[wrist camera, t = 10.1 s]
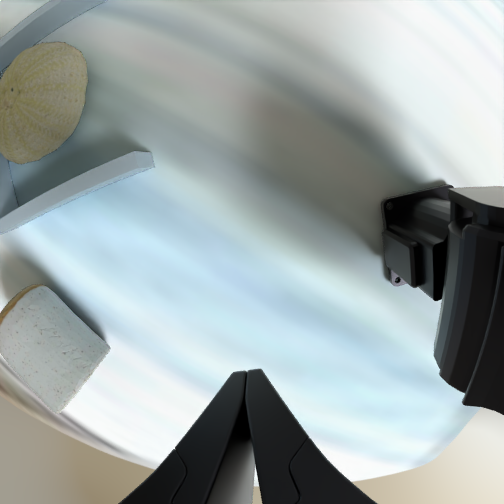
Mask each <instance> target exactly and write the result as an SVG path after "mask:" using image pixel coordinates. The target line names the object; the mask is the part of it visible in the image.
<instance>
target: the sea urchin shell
mask: <svg viewBox="0 0 504 504" xmlns="http://www.w3.org/2000/svg"><path fill="white" fill-rule="evenodd" d="M87 76H88V75H87V63H86V60H85V58H84V57H83V54H82V53H81V51H79V50H77V49H76V48H74V47H72V46H70V45H68V44H66V43H65V42H64V43H62V42H53V43H47V42H46V43H43V42H42V43H41V44H37V45H35V46H33V47H30V48H28V49H25V50H24V51H22V52H20V54H19V55H18V56H17V57H16V58H15V59H14V60H13V61H12V63H11V64H10V66H8V68H7V70H6V71H5V72H4V73H3V76H2V78H1V80H0V152H1V154H2V155H3V156H4V157H5V158H6V159H7V160H9V161H12V162H15V163H17V164H25V163H28V162H32V161H36V160H40V159H41V158H42V157H44V156H45V155H47V154H49V153H51V152H53V151H54V150H57V148H59V147H60V146H61V145H62V144H63V143H64V142H65V141H66V140H67V139H68V138H69V137H70V136H71V135H72V134H73V131H74V130H75V128H76V126H77V125H78V123H79V120H80V117H81V113H82V110H83V108H84V104H85V92H86V87H87V83H88V79H87Z"/></svg>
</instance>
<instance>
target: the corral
mask: <svg viewBox="0 0 504 504" xmlns="http://www.w3.org/2000/svg"><path fill="white" fill-rule="evenodd" d="M105 1H107V0H50V1H49V2H48V3H46V4H45V5H43V6H42V7H40V8H39V9H38V10H36V11H35V12H33V13H32V14H31V15H29V16H28V17H27V18H25V19H24V20H23V21H22V22H20V23H19V24H18V25H17V26H15V27H14V28H13V29H12V30H11V31H9V32H8V33H7V34H6V35H5V36H4V37H3V38H1V39H0V72H1V71H2V70H3V69H4V68H5V67H7V66H8V65H9V64H10V63H11V62H12V61H13V60H14V59H15V58H16V57H17V56H18V55H19V54H20V52H22V51H24V50H25V49H28V48H30V47H32V46H33V45H34V44H36V43H37V42H38V41H40V40H41V39H43V38H44V37H46V36H47V35H48V34H50V33H51V32H53V31H54V30H56V29H58V28H59V27H61V26H62V25H64V24H65V23H67V22H69V21H70V20H72V19H74V18H75V17H77V16H79V15H81V14H82V13H84V12H86V11H88V10H89V9H91V8H93V7H95V6H97V5H99V4H101V3H103V2H105ZM153 167H155V165H154V161H153V157H152V154H151V152H139V151H133V152H131V153H128V154H126V155H123V156H121V157H118V158H116V159H114V160H111V161H109V162H107V163H104V164H102V165H100V166H98V167H96V168H93V169H91V170H89V171H87V172H85V173H83V174H81V175H78V176H76V177H74V178H72V179H70V180H68V181H66V182H64V183H62V184H60V185H58V186H56V187H55V188H53V189H51V190H49V191H47V192H45V193H43V194H42V195H40V196H38V197H36V198H34V199H33V200H31V201H29V202H27V203H26V204H24V205H22V206H21V207H18V203H17V200H16V196H15V191H14V187H13V183H12V178H11V173H10V168H9V163H8V160H7V159H6V158H5V157H4V156H3V155H2V154H1V152H0V235H1V234H3V233H6V232H8V231H11V230H14V229H16V228H18V227H20V226H22V225H24V224H26V223H28V222H29V221H31V220H33V219H35V218H37V217H39V216H41V215H43V214H45V213H47V212H49V211H51V210H53V209H55V208H57V207H59V206H61V205H64V204H66V203H68V202H70V201H72V200H74V199H77V198H79V197H81V196H83V195H85V194H88V193H90V192H92V191H95V190H97V189H99V188H102V187H104V186H107V185H109V184H111V183H114V182H116V181H119V180H121V179H124V178H126V177H129V176H132V175H134V174H137V173H140V172H142V171H145V170H148V169H151V168H153Z"/></svg>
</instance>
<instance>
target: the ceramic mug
mask: <svg viewBox="0 0 504 504" xmlns="http://www.w3.org/2000/svg"><path fill="white" fill-rule="evenodd" d="M109 351H110V346H109V345H108V344H107V343H106V342H105V341H103V340H102V339H101V338H100V337H99V336H98V335H97V334H96V333H94V332H93V331H92V330H91V329H90V328H89V327H88V326H87V325H86V324H85V323H84V322H83V321H82V320H81V319H80V318H79V317H77V316H76V315H75V314H74V313H73V312H72V311H71V310H70V309H69V307H68V306H67V305H66V304H65V303H64V302H63V301H62V300H61V299H60V298H59V297H58V296H57V295H56V294H55V293H54V292H53V291H52V290H50V289H49V288H48V287H46V286H44V285H42V284H34V285H31V286H28V287H27V288H25V289H23V290H22V291H21V292H19V293H18V294H17V295H16V296H15V297H14V298H12V299H11V300H10V301H9V303H8V304H7V305H6V306H5V307H4V309H3V310H2V311H1V313H0V353H1V355H2V356H3V357H4V359H5V360H6V361H7V363H8V364H9V365H10V366H11V367H12V368H13V370H14V371H15V372H16V373H17V374H18V375H19V376H20V378H21V379H22V380H23V381H24V382H25V383H26V384H27V386H28V387H29V388H30V389H31V390H32V391H33V392H34V393H35V394H36V395H37V396H38V397H39V398H40V399H41V400H42V401H43V402H44V403H45V404H46V405H47V406H48V407H49V408H50V409H51V410H52V411H53V412H54V413H56V414H59V413H60V412H61V411H62V410H63V409H64V408H65V407H66V405H67V404H68V403H69V402H70V401H71V400H72V399H73V398H74V397H75V395H76V394H77V393H78V392H79V390H80V389H81V387H82V386H83V385H84V384H85V382H86V381H87V380H88V379H89V377H90V376H91V375H92V373H93V372H94V371H95V369H96V368H97V367H98V366H99V364H100V363H101V362H102V361H103V359H104V358H105V357H106V355H107V354H108V352H109Z"/></svg>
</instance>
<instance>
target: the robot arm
mask: <svg viewBox="0 0 504 504" xmlns="http://www.w3.org/2000/svg"><path fill="white" fill-rule="evenodd" d="M389 202H390V204H391V205H390V208H389V209H387V204H388V203H389ZM381 209H382V216H383V223H384V230H383V232H382V236H383V244H384V253H385V262H386V266H387V267H389V276H390V282H391V283H392V284H393V285H394V286H401V285H404V284H406V283H408V284H409V285H410V286H411V287H413V288H417V287H419V288H420V289H421V290H422V291H424V292H425V293H426V294H427V295H428V296H429V297H431V298H432V299H433V300H434V301H438V300H441V299H442V303H441V309H440V316H439V321H438V327H437V332H436V337H435V342H434V357H435V360H436V362H437V364H438V367H439V368H440V373H439V375H440V376H441V377H442V378H443V379H444V380H445V381H446V382H447V383H448V384H449V385H450V386H452V387H454V388H455V389H457V390H459V391H460V392H463V393H465V396H464V398H463V401H462V404H463V405H465V406H476V407H484V408H487V409H490V410H494V411H496V412H498V413H501V414H502V415H504V187H502V186H491V187H464V188H454V187H453V186H452V185H447V184H446V185H442V186H437V187H433V188H428V189H424V190H419V191H415V192H411V193H406V194H402V195H398V196H393V197H389V198H386V199H384V200H383V201H382V203H381ZM397 277H398V280H397V281H395V279H396V278H397ZM175 449H176V450H175ZM175 449H173V450H172V452H171V453H170V454H169V455H168V456H167V458H166V459H165V460H164V461H163V462H162V463H161V464H160V466H159V467H158V468H157V469H156V470H155V471H154V472H153V473H152V474H151V475H150V476H149V477H148V478H147V479H146V480H145V481H144V482H143V483H141V484H140V485H139V486H138V487H137V488H136V489H135V490H134V491H132V492H131V493H130V494H129V495H128V496H127V497H126V498H124V499H123V500H122V501H121V502H120V503H118V504H252V499H253V485H254V471H255V465H256V471H257V476H258V482H259V487H260V492H261V498H262V503H263V504H377V503H376V502H375V501H373V500H372V499H370V498H369V497H368V496H367V495H366V494H365V493H363V492H362V491H361V490H360V489H359V488H357V487H356V486H355V485H354V484H353V483H352V482H351V481H349V480H348V479H347V478H346V477H345V476H344V475H343V474H342V473H340V472H339V471H338V470H337V469H336V468H335V467H334V466H333V465H332V464H331V463H330V462H329V461H328V460H327V458H326V457H325V456H324V455H323V454H322V452H321V451H320V450H319V449H318V448H317V446H316V445H315V444H314V442H313V441H312V440H311V439H310V438H309V436H308V435H307V433H306V432H305V430H304V429H303V428H302V426H301V425H300V424H299V422H298V421H297V419H296V418H295V417H294V415H293V414H292V412H291V411H290V410H289V408H288V407H287V405H286V404H285V402H284V401H283V400H282V398H281V397H280V395H279V394H278V392H277V391H276V390H275V388H274V387H273V385H272V384H271V382H270V381H269V379H268V378H267V376H266V375H265V373H264V372H263V370H262V369H253V370H248V371H237V372H233V373H232V374H231V375H230V377H229V378H228V379H227V381H226V382H225V383H224V385H223V386H222V388H221V389H220V390H219V392H218V393H217V394H216V396H215V397H214V398H213V400H212V401H211V402H210V403H209V405H208V406H207V407H206V409H205V410H204V411H203V413H202V414H201V415H200V416H199V418H198V419H197V420H196V422H195V423H194V424H193V425H192V427H191V428H190V429H189V431H188V432H187V433H186V434H185V436H184V437H183V438H182V439H181V441H180V442H179V443H178V444H177V446H176V447H175Z"/></svg>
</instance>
